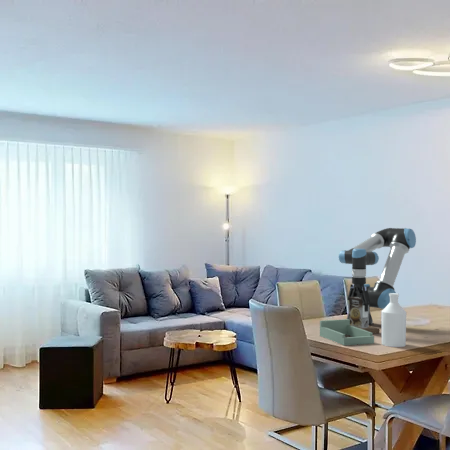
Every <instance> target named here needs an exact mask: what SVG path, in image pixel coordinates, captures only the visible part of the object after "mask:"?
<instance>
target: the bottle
mask: <svg viewBox="0 0 450 450" xmlns="http://www.w3.org/2000/svg"><path fill="white" fill-rule="evenodd" d="M389 296H390V303H389V304H388V305H387V306H386V307H385V308H384V309H381V345H382V346H386V347H391V348H392V347H393V348H403V347H405V346H406V344H407V343H406V342H407V340H406V339H407V311H406V310H405V309H404V308H403V307H402V305H400V304H399V296H400V294H399V293H389Z"/></svg>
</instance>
